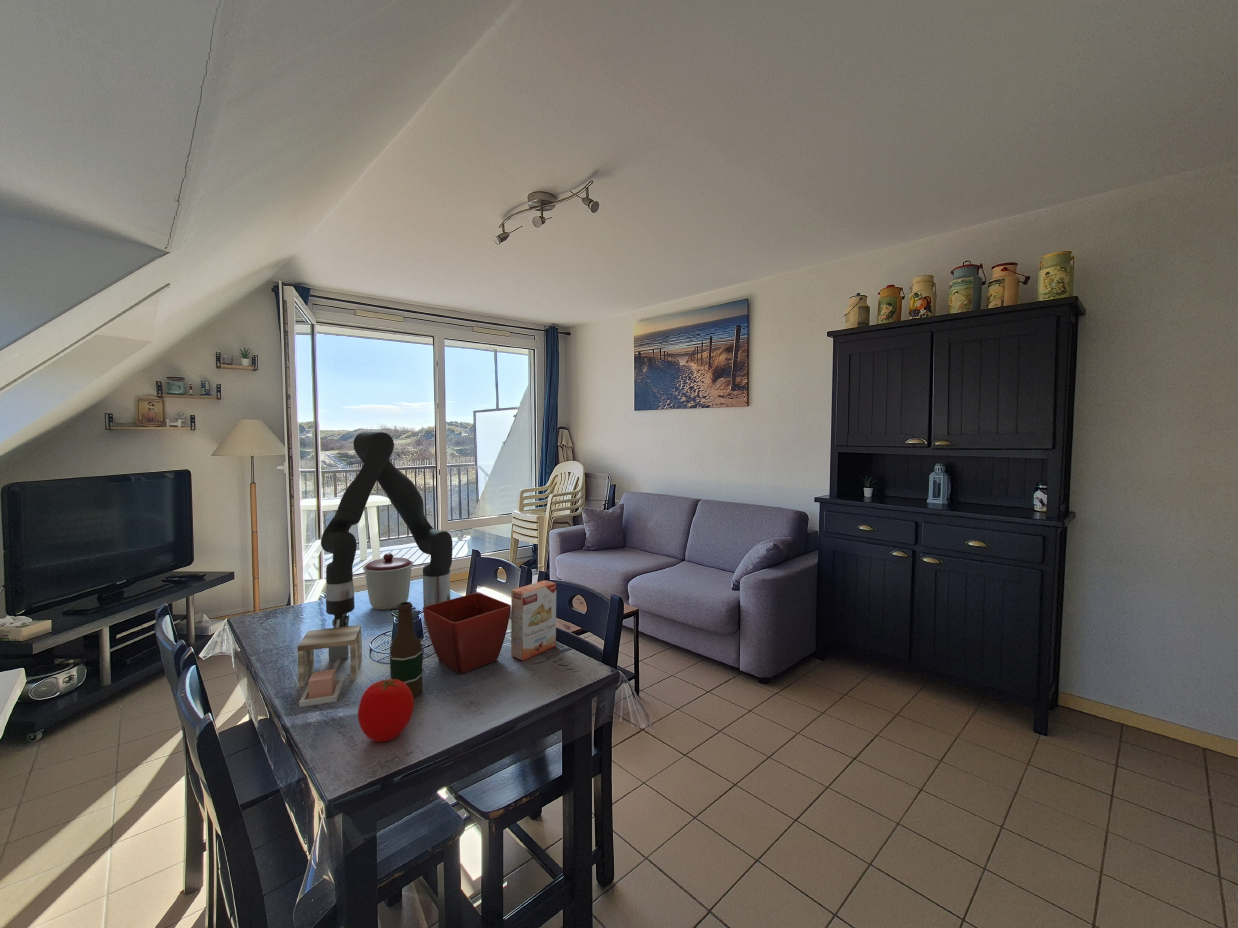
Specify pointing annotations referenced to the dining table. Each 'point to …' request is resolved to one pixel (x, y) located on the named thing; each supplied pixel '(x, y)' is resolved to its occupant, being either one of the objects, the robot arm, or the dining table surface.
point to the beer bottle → (406, 651)
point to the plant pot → (467, 630)
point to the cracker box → (533, 619)
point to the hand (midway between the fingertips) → (341, 651)
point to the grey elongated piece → (337, 655)
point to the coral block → (322, 684)
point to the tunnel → (328, 640)
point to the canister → (388, 581)
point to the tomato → (385, 709)
